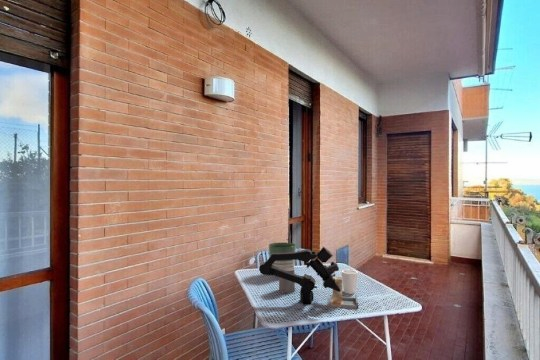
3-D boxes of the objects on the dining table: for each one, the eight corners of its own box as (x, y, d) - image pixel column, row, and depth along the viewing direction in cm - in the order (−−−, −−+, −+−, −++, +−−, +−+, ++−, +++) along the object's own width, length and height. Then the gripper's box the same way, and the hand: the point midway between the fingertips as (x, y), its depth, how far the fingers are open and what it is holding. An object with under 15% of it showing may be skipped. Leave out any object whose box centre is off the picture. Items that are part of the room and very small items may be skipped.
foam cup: (347, 289, 198) (347, 268, 198) (360, 293, 191) (360, 271, 192) (338, 293, 191) (338, 271, 192) (352, 297, 185) (352, 274, 185)
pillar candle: (284, 287, 204) (284, 263, 204) (297, 289, 198) (297, 265, 198) (276, 291, 196) (275, 267, 196) (289, 294, 190) (289, 269, 190)
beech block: (332, 301, 172) (332, 279, 172) (332, 298, 176) (332, 276, 177) (342, 302, 171) (342, 279, 171) (342, 299, 175) (342, 277, 176)
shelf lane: (327, 308, 169) (326, 300, 169) (327, 300, 180) (327, 293, 181) (358, 310, 165) (358, 302, 165) (357, 302, 177) (357, 294, 177)
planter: (270, 270, 243) (270, 242, 243) (296, 271, 240) (296, 242, 241) (267, 277, 224) (266, 247, 224) (294, 278, 221) (294, 247, 221)
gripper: (329, 262, 165) (351, 285, 163) (330, 254, 184) (350, 275, 181) (314, 276, 167) (335, 299, 165) (316, 267, 185) (336, 288, 183)
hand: (340, 289), depth 173 cm, fingers closed on beech block, 5 cm apart
